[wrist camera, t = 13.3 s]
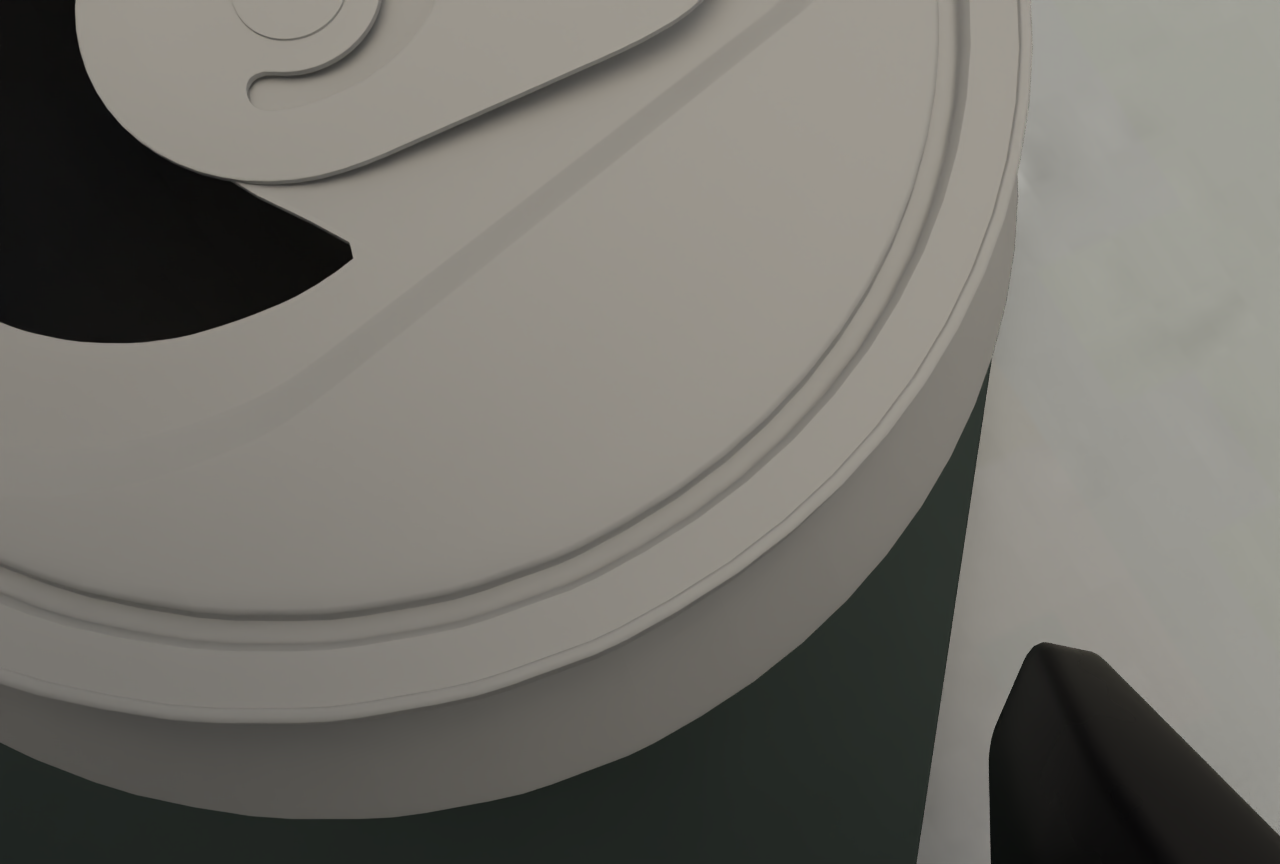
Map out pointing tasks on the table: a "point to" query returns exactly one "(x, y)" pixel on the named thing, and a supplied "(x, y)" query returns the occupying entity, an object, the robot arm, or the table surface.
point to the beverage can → (469, 369)
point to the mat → (631, 760)
